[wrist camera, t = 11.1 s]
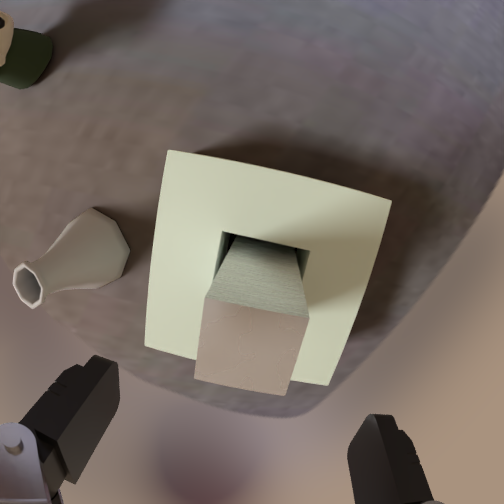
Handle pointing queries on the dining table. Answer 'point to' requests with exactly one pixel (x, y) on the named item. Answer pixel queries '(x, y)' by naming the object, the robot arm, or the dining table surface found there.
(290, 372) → the rectangular block
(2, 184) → the dining table surface
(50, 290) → the flask
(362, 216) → the well block
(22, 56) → the character mug
